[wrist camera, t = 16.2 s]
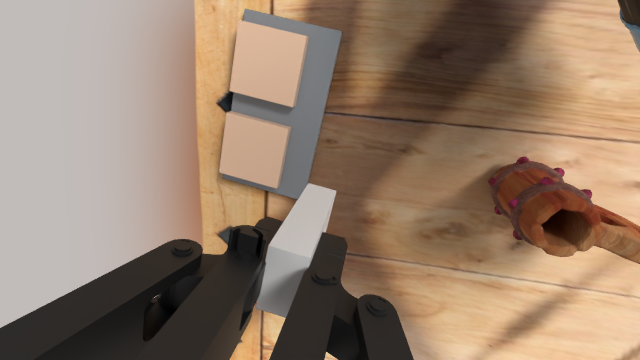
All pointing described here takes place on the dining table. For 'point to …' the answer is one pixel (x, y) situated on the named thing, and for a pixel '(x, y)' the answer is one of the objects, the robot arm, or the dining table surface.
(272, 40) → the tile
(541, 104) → the dining table surface
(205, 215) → the dining table surface
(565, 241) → the mug
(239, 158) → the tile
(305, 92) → the slate board
